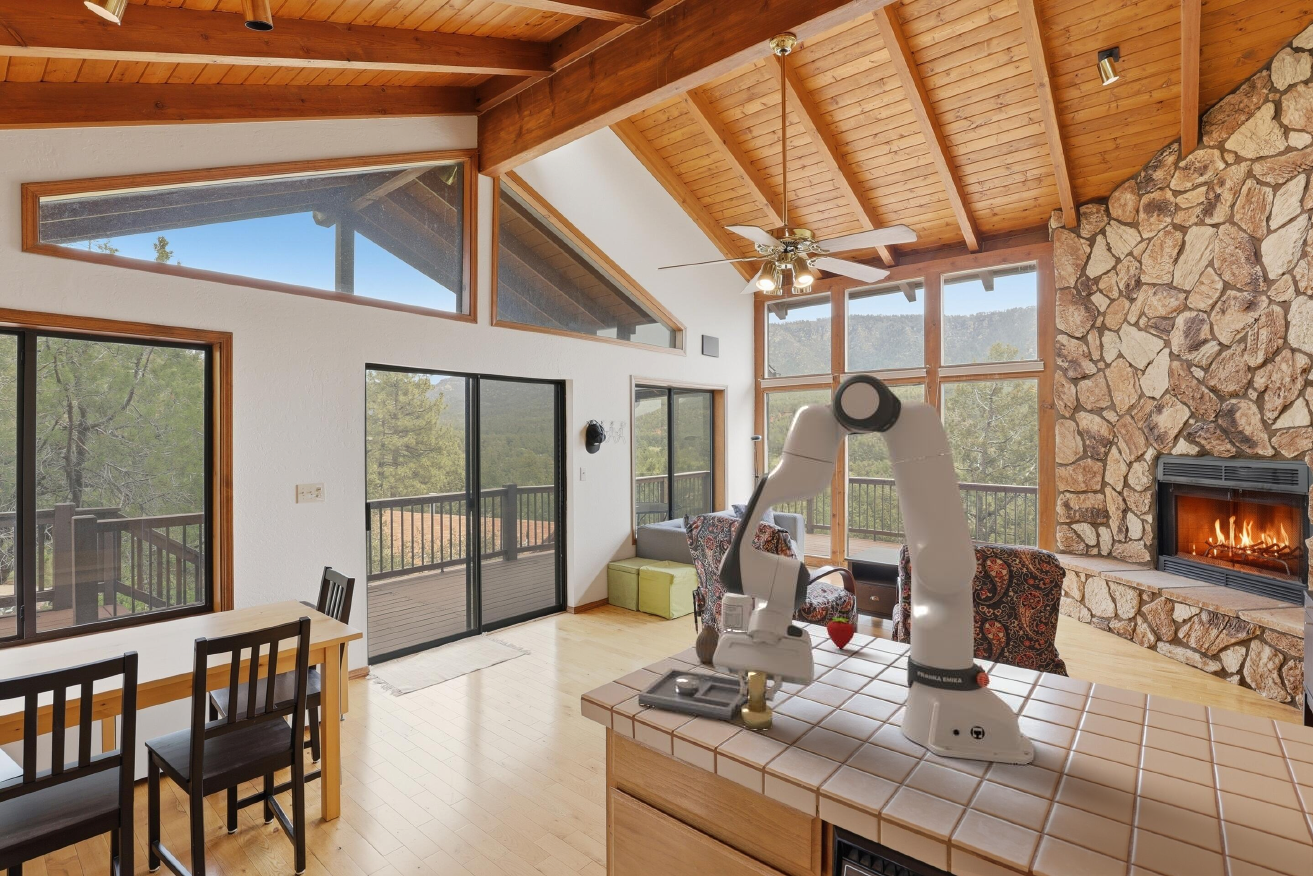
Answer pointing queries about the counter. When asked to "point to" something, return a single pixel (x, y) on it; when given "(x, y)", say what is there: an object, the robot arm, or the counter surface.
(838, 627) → the strawberry
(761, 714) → the gold peg with base
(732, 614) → the supplement can
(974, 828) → the counter surface
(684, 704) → the tray
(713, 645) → the vase
